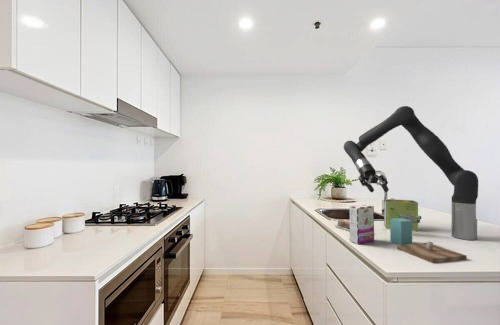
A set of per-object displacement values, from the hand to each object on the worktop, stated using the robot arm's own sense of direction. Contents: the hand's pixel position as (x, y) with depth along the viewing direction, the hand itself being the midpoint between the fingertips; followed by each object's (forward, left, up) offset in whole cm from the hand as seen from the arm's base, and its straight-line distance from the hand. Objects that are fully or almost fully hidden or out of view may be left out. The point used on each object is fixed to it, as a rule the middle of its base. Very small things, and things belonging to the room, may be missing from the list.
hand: (380, 191), depth 127 cm
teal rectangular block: (0, +13, -22) cm, 26 cm away
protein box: (-23, -11, -22) cm, 34 cm away
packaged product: (+7, -12, -23) cm, 27 cm away
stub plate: (0, +27, -22) cm, 35 cm away
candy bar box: (+16, +7, -22) cm, 28 cm away
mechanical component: (-16, +2, -22) cm, 28 cm away
